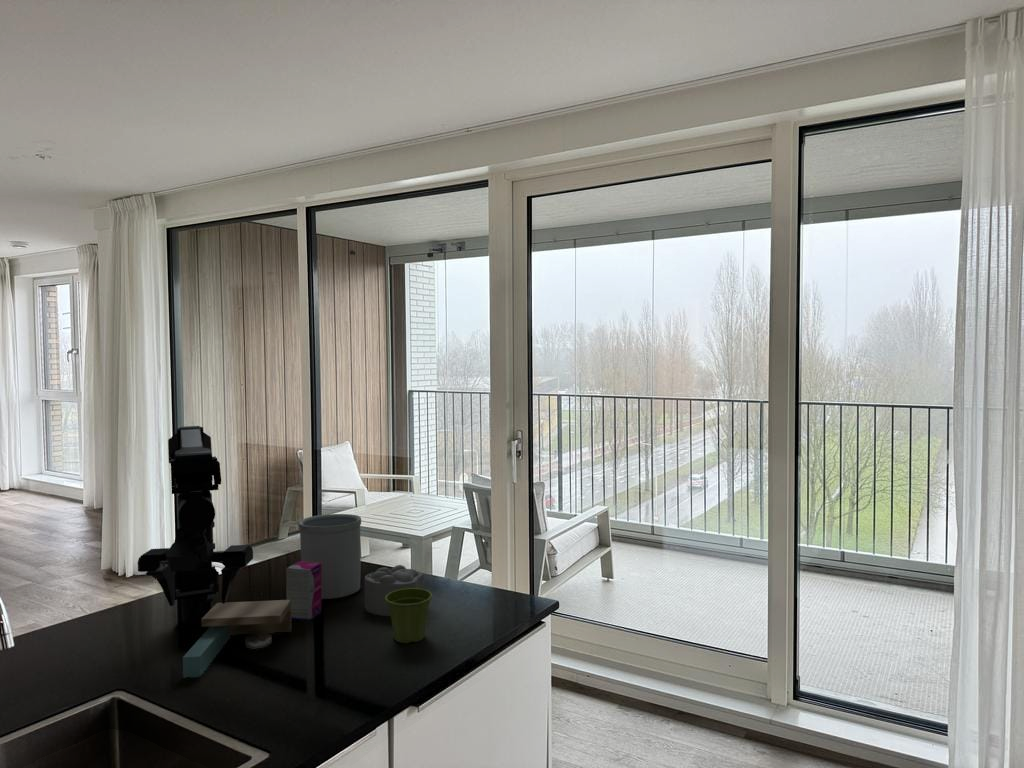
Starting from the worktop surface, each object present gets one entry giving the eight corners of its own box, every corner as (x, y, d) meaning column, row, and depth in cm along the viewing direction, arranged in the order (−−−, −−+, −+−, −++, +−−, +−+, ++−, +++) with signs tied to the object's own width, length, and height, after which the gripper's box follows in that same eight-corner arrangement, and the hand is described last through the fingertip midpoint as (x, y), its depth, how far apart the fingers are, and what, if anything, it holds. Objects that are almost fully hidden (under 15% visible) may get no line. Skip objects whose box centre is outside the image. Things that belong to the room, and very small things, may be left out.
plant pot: (441, 632, 143) (440, 591, 143) (416, 650, 134) (415, 606, 134) (403, 626, 147) (402, 585, 147) (376, 643, 138) (375, 600, 138)
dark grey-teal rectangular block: (183, 679, 124) (182, 657, 124) (215, 641, 141) (214, 621, 141) (200, 678, 125) (199, 656, 125) (230, 640, 142) (229, 620, 142)
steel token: (241, 651, 136) (241, 643, 136) (249, 641, 141) (249, 633, 141) (268, 650, 136) (267, 642, 136) (274, 639, 141) (274, 632, 141)
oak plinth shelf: (202, 651, 135) (201, 619, 135) (218, 633, 144) (217, 602, 144) (281, 648, 137) (280, 615, 136) (291, 630, 146) (290, 599, 145)
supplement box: (310, 621, 150) (309, 569, 150) (285, 620, 151) (284, 568, 151) (323, 612, 156) (321, 561, 155) (299, 610, 157) (297, 560, 157)
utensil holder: (306, 582, 177) (304, 514, 177) (365, 579, 179) (363, 511, 178) (294, 602, 163) (292, 528, 162) (359, 598, 164) (357, 525, 164)
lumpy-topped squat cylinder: (412, 617, 152) (411, 578, 152) (356, 614, 154) (355, 575, 154) (427, 601, 162) (426, 564, 162) (375, 598, 165) (374, 562, 164)
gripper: (121, 532, 118) (125, 623, 119) (234, 528, 120) (237, 617, 121) (149, 518, 129) (152, 601, 130) (252, 514, 131) (255, 596, 132)
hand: (198, 604), depth 128 cm, fingers open, 9 cm apart
